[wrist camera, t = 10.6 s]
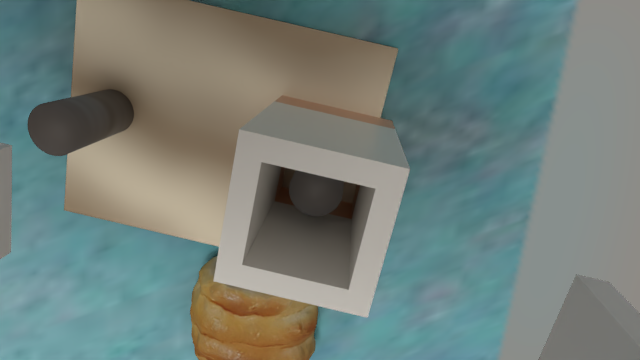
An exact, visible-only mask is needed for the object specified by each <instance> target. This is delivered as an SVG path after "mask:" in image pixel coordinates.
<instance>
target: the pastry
mask: <svg viewBox="0 0 640 360" xmlns="http://www.w3.org/2000/svg"><path fill="white" fill-rule="evenodd" d="M217 257H218V256H217ZM217 257H214V258H212V259H211V260H209V261H208V262H207V263H206V264H205V265H204V266H203V267H202V268H201V270H200V271H199V279H198V281H197V283H196V285H195V287H194V289H193V292H192V305H191V310H190V314H191V321H192V338H193V343H194V346H195V354H196V356H197V357H198V359H199V360H309V358H310V357H311V356H312V354H313V353H314V351H315V338H314V331H315V328H316V325H317V315H318V306H316V305H312V304H307V303H303V302H299V301H295V300H290V299H286V298H282V297H278V296H274V295H269V294H265V293H261V292H257V291H252V290H248V289H244V288H240V287H235V286H231V285H227V284H223V283H218V282H214V281H213V280H214V274H215V268H216V263H217Z"/></svg>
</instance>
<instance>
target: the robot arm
mask: <svg viewBox="0 0 640 360" xmlns="http://www.w3.org/2000/svg"><path fill="white" fill-rule="evenodd" d="M11 197H12V145H8V144H4V143H0V259H1V258H3V257H4V256H6V255H7V254H9V253H10V252H11ZM538 360H640V313H639V312H638V311H637V310H636V309H635V308H634V307H633V306H632V305H631V304H630V303H629V302H628V301H627V300H626V299H625V298H624V297H623V296H622V295H621V294H620V293H619V292H618V291H617V290H616V289H615V287H614V286H613V285H612V284H610V282H607V281H603V280H599V279H594V278H590V277H586V276H581V275H576V276H575V278H574V280H573V283H572V285H571V287H570V289H569V292H568V294H567V296H566V298H565V301H564V303H563V305H562V308H561V310H560V312H559V314H558V317H557V319H556V321H555V323H554V325H553V328H552V330H551V332H550V335H549V337H548V339H547V341H546V344H545V346H544V348H543V350H542V353H541V355H540V357H539V359H538Z"/></svg>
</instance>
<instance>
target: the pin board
mask: <svg viewBox="0 0 640 360" xmlns="http://www.w3.org/2000/svg"><path fill="white" fill-rule="evenodd" d="M397 52H398V48H394V47H390V46H386V45H381V44H377V43H373V42H368V41H364V40H360V39H355V38H351V37H346V36H342V35H338V34H333V33H329V32H325V31H320V30H316V29H312V28H307V27H303V26H299V25H294V24H290V23H286V22H281V21H277V20H273V19H268V18H264V17H259V16H255V15H251V14H246V13H242V12H238V11H233V10H229V9H225V8H220V7H216V6H212V5H207V4H203V3H199V2H194V1H190V0H77V5H76V22H75V39H74V55H73V72H72V88H71V97H70V98H66V99H61V100H57V101H52V102H48V103H43V104H40V105H38V106H37V107H35V108H34V109H33V110H32V112H31V113H30V115H29V118H28V131H29V134H30V137H31V139H32V141H33V142H34V143H35V145H36V146H37V147H38V148H39V149H41V150H42V151H44V152H45V153H47V154H50V155H54V156H63V155H66V154H68V155H67V171H66V188H65V204H64V210H66V211H70V212H74V213H78V214H83V215H87V216H91V217H95V218H100V219H104V220H108V221H112V222H117V223H121V224H125V225H129V226H134V227H138V228H142V229H146V230H151V231H155V232H159V233H163V234H168V235H172V236H176V237H180V238H185V239H189V240H193V241H197V242H202V243H206V244H210V245H214V246H219V245H220V239H221V233H222V227H223V221H224V216H225V210H226V204H227V198H228V192H229V186H230V180H231V174H232V169H233V163H234V157H235V151H236V145H237V139H238V133H239V129H240V128H241V127H243V126H244V125H245V124H246V123H248V122H249V121H250V120H252V119H253V118H254V117H255V116H257V115H258V114H259V113H260V112H262V111H263V110H264V109H265V108H267V107H268V106H269V105H270V104H272V103H273V102H274V101H275V100H277V99H278V98H279V97H280V96H282V95H283V96H288V97H292V98H296V99H301V100H305V101H309V102H313V103H318V104H322V105H326V106H331V107H335V108H339V109H344V110H348V111H352V112H357V113H361V114H365V115H370V116H374V117H378V118H381V114H382V110H383V106H384V102H385V98H386V95H387V91H388V87H389V83H390V79H391V75H392V71H393V68H394V64H395V60H396V56H397ZM282 187H284V188H288V189H289V195H290V198H291V201H292V202H293V204H294V205H295V207H296V208H297V209H298V210H300V211H301V212H303V213H305V214H307V215H310V216H323V215H326V214H329V213H331V212H332V211H334V210H335V209H336V208H337V207H338V205H339V204H340V202H341V201H344V202H348V203H352V202H353V198H354V194H355V191H356V187H357V184H353V183H349V182H345V181H341V180H336V179H332V178H328V177H323V176H319V175H315V174H311V173H306V172H302V171H298V170H293V169H289V168H285V173H284V178H283V183H282Z"/></svg>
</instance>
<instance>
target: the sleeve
mask: <svg viewBox="0 0 640 360" xmlns="http://www.w3.org/2000/svg"><path fill="white" fill-rule="evenodd" d="M285 168H289V169H293V170H298V171H302V172H306V173H311V174H315V175H319V176H323V177H328V178H332V179H336V180H341V181H345V182H349V183H353V184H357V187H356V191H355V194H354V198H353V202H352V203H348V202H344V201H341V202H340V204H339V205H338V207H337V208H336V209H335V210H334V211H332V212H331V213H329V214H326V215H323V216H310V215H307V214H305V213H303V212H301V211H300V210H298V209H297V208H296V207H295V205H294V204H293V202H292V201H291V198H290V195H289V189H288V188H284V187H282V183H283V178H284V173H285ZM409 171H410V167H409V165H408V162H407V159H406V157H405V154H404V151H403V149H402V146H401V143H400V141H399V138H398V135H397V133H396V130H395V127H394V125H393V122H392V121H391V120H387V119H383V118H378V117H374V116H370V115H365V114H361V113H357V112H352V111H348V110H344V109H339V108H335V107H331V106H326V105H322V104H318V103H313V102H309V101H305V100H301V99H296V98H292V97H288V96H283V95H282V96H280V97H279V98H278V99H277V100H275V101H274V102H273V103H272V104H270V105H269V106H268V107H267V108H265V109H264V110H263V111H262V112H260V113H259V114H258V115H257V116H255V117H254V118H253V119H252V120H250V121H249V122H248V123H246V124H245V125H244V126H243V127H241V128H240V129H239V133H238V139H237V145H236V151H235V157H234V163H233V169H232V174H231V180H230V186H229V192H228V198H227V204H226V210H225V216H224V221H223V227H222V233H221V239H220V245H219V251H218V257H217V263H216V268H215V274H214V280H213V281H214V282H218V283H223V284H227V285H231V286H235V287H240V288H244V289H248V290H252V291H257V292H261V293H265V294H269V295H274V296H278V297H282V298H286V299H290V300H295V301H299V302H303V303H307V304H312V305H316V306H320V307H324V308H329V309H333V310H337V311H341V312H346V313H350V314H354V315H358V316H362V317H368V314H369V310H370V307H371V303H372V300H373V297H374V293H375V290H376V286H377V283H378V279H379V276H380V272H381V269H382V265H383V262H384V258H385V255H386V251H387V248H388V244H389V241H390V237H391V234H392V231H393V227H394V224H395V220H396V217H397V213H398V210H399V206H400V203H401V199H402V196H403V192H404V189H405V185H406V182H407V178H408V175H409Z"/></svg>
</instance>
